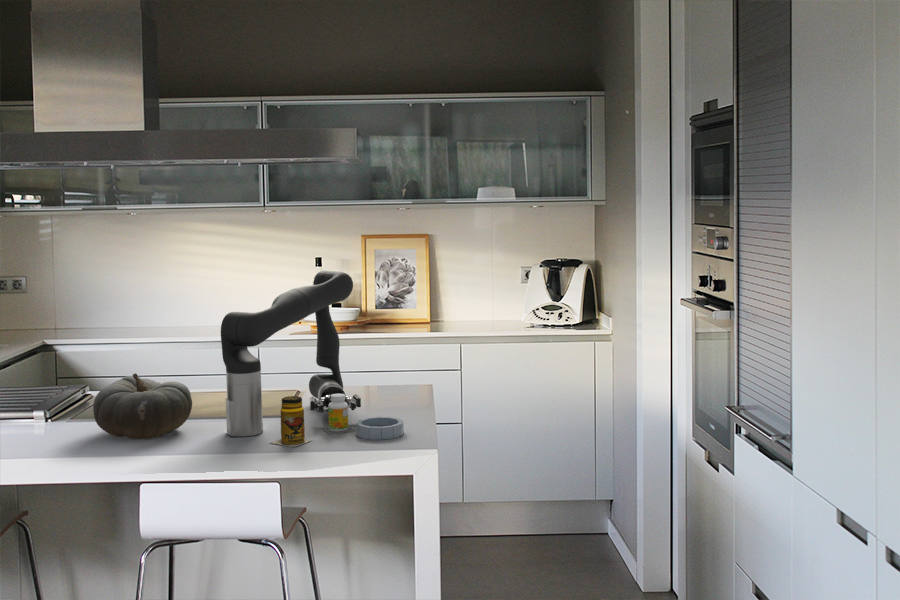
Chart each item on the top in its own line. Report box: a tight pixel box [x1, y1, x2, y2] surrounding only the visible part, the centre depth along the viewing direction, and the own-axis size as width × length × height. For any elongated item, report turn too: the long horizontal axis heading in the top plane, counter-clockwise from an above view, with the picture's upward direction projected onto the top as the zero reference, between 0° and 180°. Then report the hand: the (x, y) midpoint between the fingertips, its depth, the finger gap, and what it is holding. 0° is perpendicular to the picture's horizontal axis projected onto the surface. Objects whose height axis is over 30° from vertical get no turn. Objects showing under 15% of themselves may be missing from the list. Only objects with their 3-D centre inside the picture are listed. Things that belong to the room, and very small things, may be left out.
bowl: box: [355, 416, 405, 441], centre depth 233 cm, size 12×12×3 cm
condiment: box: [270, 395, 312, 448], centre depth 225 cm, size 7×8×12 cm
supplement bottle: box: [327, 393, 349, 432], centre depth 237 cm, size 5×5×10 cm
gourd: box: [92, 372, 193, 440], centre depth 236 cm, size 25×25×17 cm
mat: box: [320, 424, 356, 435], centre depth 238 cm, size 8×7×1 cm
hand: (337, 407), depth 238 cm, fingers open, 8 cm apart
